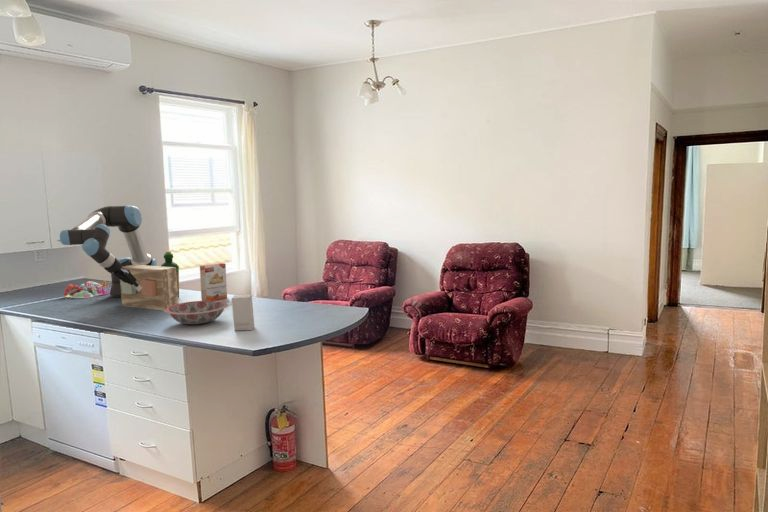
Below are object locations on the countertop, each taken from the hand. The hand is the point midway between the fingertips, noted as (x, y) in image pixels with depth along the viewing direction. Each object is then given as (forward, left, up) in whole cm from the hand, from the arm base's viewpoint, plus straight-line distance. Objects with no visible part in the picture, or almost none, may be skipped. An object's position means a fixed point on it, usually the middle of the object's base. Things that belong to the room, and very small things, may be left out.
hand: (140, 289), depth 302 cm
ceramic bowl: (+44, -18, -12) cm, 50 cm away
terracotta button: (+1, +5, -4) cm, 7 cm away
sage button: (-14, +9, -4) cm, 17 cm away
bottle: (-6, +36, -12) cm, 38 cm away
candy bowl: (-67, +40, -13) cm, 79 cm away
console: (-5, +14, -12) cm, 19 cm away
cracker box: (+23, +35, -12) cm, 44 cm away
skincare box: (+73, -27, -12) cm, 79 cm away
